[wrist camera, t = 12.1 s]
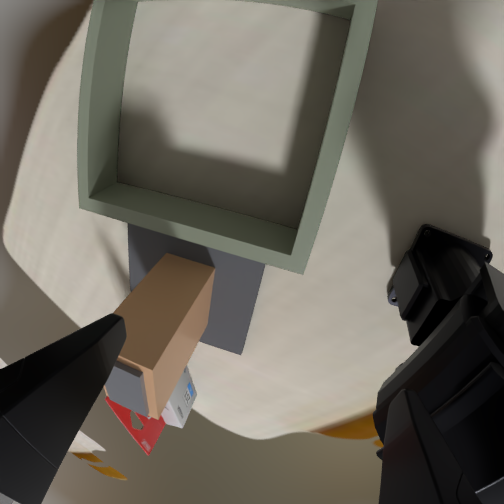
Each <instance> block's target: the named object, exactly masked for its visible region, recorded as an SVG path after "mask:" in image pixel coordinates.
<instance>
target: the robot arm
mask: <svg viewBox="0 0 504 504" xmlns="http://www.w3.org/2000/svg"><path fill="white" fill-rule="evenodd" d="M426 230H429V233H428V234H427V235H425V234H424V232H425V231H426ZM486 254H488V255H487V257H485V255H486ZM492 257H493V254H492V252H491V251H490V250H489V249H488V248H486V247H484V246H481V245H479V244H477V243H474V242H472V241H469V240H467V239H465V238H462V237H460V236H457V235H455V234H452V233H450V232H447V231H445V230H442V229H439V228H437V227H434V226H432V225H429V224H425V225H423V226H421V228H420V229H419V232H418V234H417V236H416V238H415V241H414V243H413V245H412V247H411V249H410V250H408V251H407V252H406V253H405V256H404V258H403V260H402V262H401V264H400V266H399V268H398V270H397V272H396V274H395V276H394V278H393V286H392V288H391V290H390V292H389V294H388V296H387V297H388V302H389V303H390V304H391V305H394V306H398V307H399V312H400V316H401V319H402V320H404V321H406V322H407V327H408V331H409V336H410V341H411V344H413V345H416V346H419V347H418V349H417V350H416V351H415V352H414V353H413V354H412V355H411V356H410V357H409V358H408V359H407V360H406V361H405V362H404V363H402V364H400V365H399V366H398V367H397V368H396V370H395V372H394V373H393V374H392V375H391V376H390V377H389V378H388V379H387V380H386V381H385V382H384V383H383V385H382V386H381V388H380V390H379V392H378V397H377V405H376V410H375V411H374V412H373V419H374V424H375V428H376V430H377V433H378V435H379V437H380V440H381V442H382V443H383V445H384V447H382V448H381V449H379V450H378V451H377V452H376V454H377V456H378V457H379V458H380V459H381V460H382V474H381V486H380V496H379V504H504V274H503V273H502V272H500V271H499V270H497V269H496V268H494V267H493V266H491V265H490V264H489V263H490V261H491V259H492ZM393 297H396V298H395V299H392V298H393ZM126 337H127V333H126V327H125V321H124V318H123V317H122V316H119V315H117V314H114V313H111V314H109V315H107V316H105V317H103V318H101V319H99V320H97V321H95V322H93V323H91V324H89V325H87V326H85V327H83V328H81V329H79V330H77V331H75V332H73V333H71V334H69V335H67V336H66V337H63V338H61V339H60V340H58V341H56V342H54V343H52V344H50V345H48V346H46V347H44V348H42V349H40V350H38V351H36V352H34V353H32V354H30V355H28V356H27V357H25V359H24V358H23V359H20V360H18V361H17V362H15V363H12V364H10V365H8V366H6V367H4V368H2V369H0V504H12V503H13V501H16V502H18V503H20V504H41V503H42V501H43V499H44V497H45V495H46V493H47V491H48V489H49V487H50V485H51V482H52V481H53V479H54V476H55V475H56V473H57V471H58V468H59V466H60V465H61V463H62V461H63V459H64V457H65V455H66V453H67V451H68V449H69V447H70V446H71V444H72V442H73V440H74V438H75V436H76V435H77V433H78V431H79V429H80V427H81V425H82V423H83V422H84V420H85V418H86V416H87V415H88V413H89V411H90V409H91V407H92V406H93V404H94V402H95V401H96V399H97V397H98V395H99V394H100V392H101V390H102V388H103V387H104V385H105V383H106V382H107V380H108V378H109V376H110V374H111V372H112V370H113V367H114V365H115V363H116V361H117V358H118V356H119V354H120V352H121V350H122V347H123V345H124V343H125V341H126Z"/></svg>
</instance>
